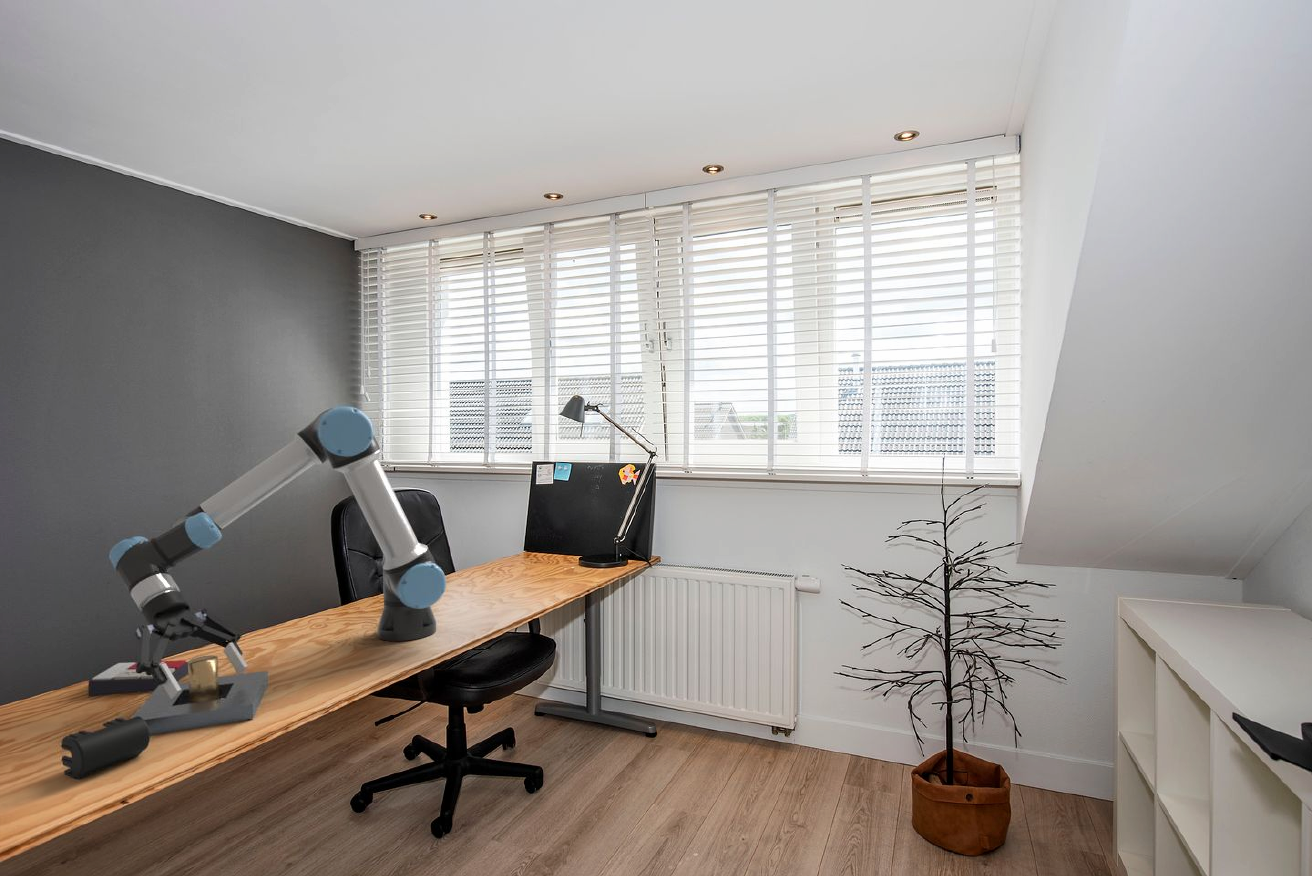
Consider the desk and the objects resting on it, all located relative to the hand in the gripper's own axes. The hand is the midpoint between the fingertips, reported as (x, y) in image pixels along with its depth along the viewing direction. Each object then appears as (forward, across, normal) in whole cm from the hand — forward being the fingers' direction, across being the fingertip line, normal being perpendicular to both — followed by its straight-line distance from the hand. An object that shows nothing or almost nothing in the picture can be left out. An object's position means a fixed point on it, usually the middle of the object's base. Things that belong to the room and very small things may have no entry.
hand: (211, 682), depth 139 cm
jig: (+2, 0, -6) cm, 6 cm away
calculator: (-16, -4, -25) cm, 31 cm away
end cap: (+8, +22, 0) cm, 23 cm away
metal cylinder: (+2, 0, -6) cm, 6 cm away
